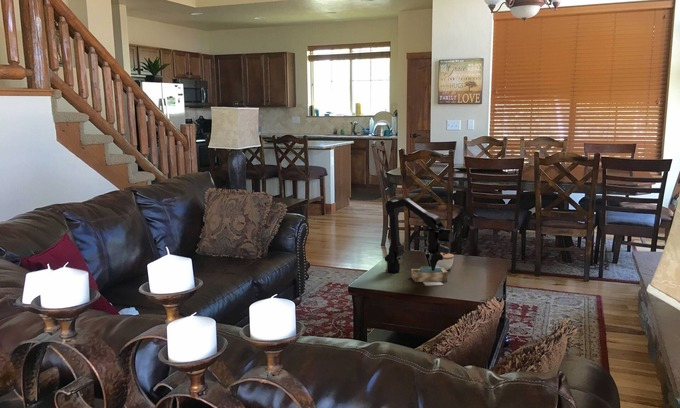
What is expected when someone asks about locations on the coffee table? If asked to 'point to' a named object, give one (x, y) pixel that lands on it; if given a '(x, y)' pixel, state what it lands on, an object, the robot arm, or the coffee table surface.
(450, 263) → the lidded jar
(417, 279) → the wooden tray
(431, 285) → the mat
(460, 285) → the coffee table surface
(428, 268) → the light blue rectangular block
